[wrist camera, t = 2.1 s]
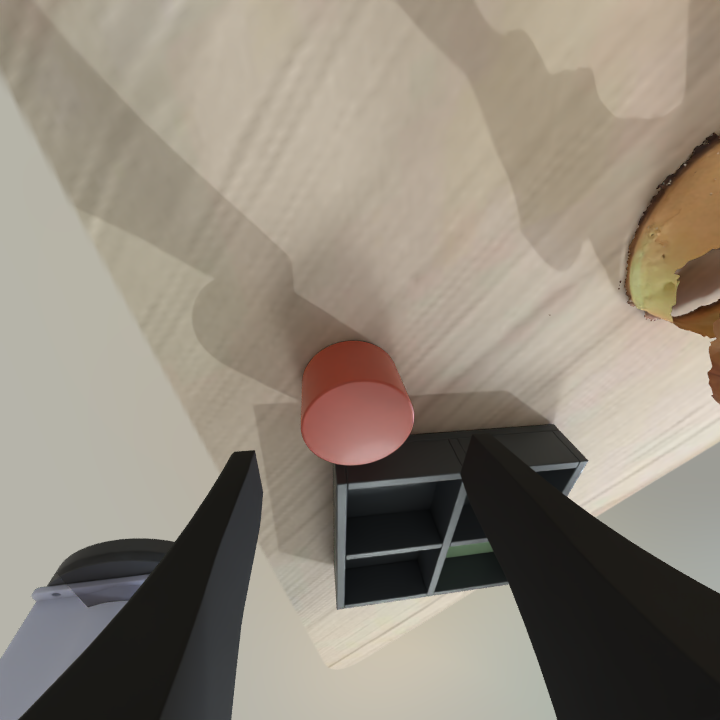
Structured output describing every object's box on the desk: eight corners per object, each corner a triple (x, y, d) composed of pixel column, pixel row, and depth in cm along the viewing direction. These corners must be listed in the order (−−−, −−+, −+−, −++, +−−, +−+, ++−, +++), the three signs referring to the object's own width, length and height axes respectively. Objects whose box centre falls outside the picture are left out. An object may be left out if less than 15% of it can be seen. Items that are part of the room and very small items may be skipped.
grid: (334, 566, 23) (336, 610, 21) (332, 440, 16) (336, 484, 14) (496, 545, 25) (515, 583, 22) (553, 423, 18) (589, 460, 16)
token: (304, 420, 15) (304, 470, 13) (299, 341, 13) (296, 382, 11) (392, 415, 16) (408, 461, 14) (401, 338, 14) (422, 376, 11)
